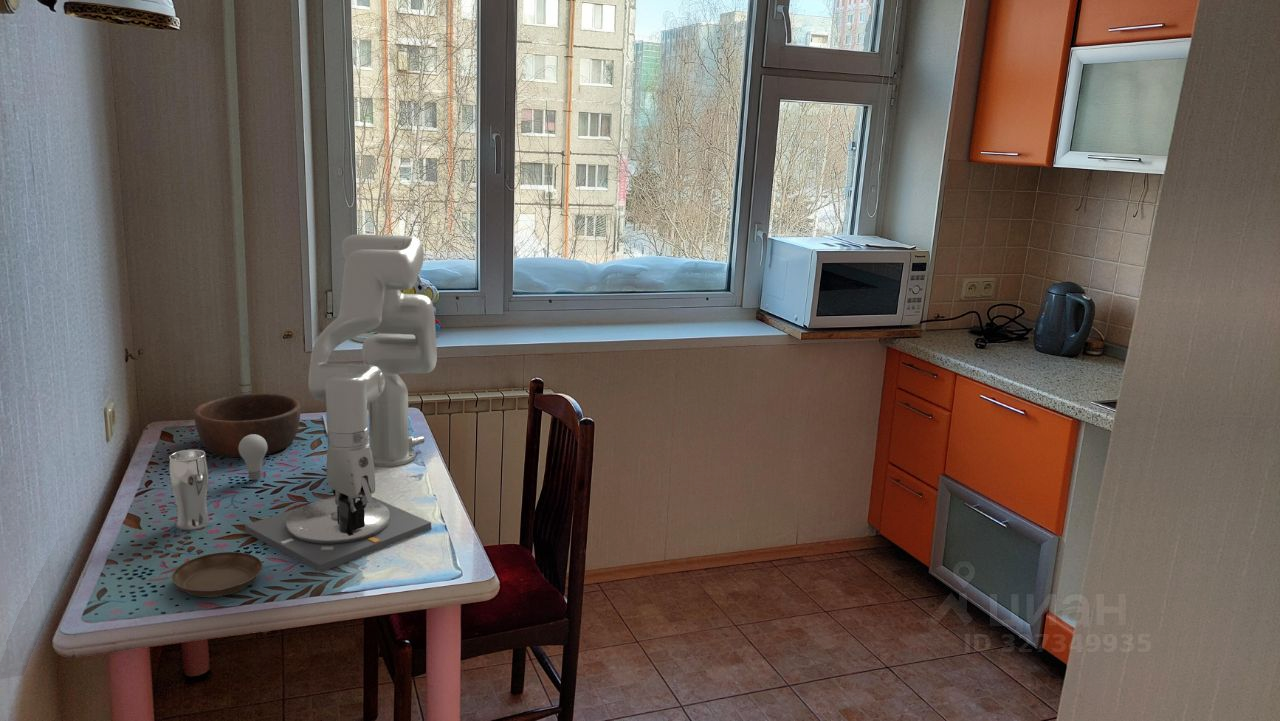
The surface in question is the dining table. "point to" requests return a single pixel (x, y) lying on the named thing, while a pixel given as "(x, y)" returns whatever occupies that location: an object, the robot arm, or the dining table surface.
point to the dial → (334, 522)
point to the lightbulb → (253, 454)
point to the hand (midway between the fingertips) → (351, 524)
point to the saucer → (217, 573)
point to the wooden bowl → (247, 422)
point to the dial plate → (338, 553)
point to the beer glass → (190, 488)
